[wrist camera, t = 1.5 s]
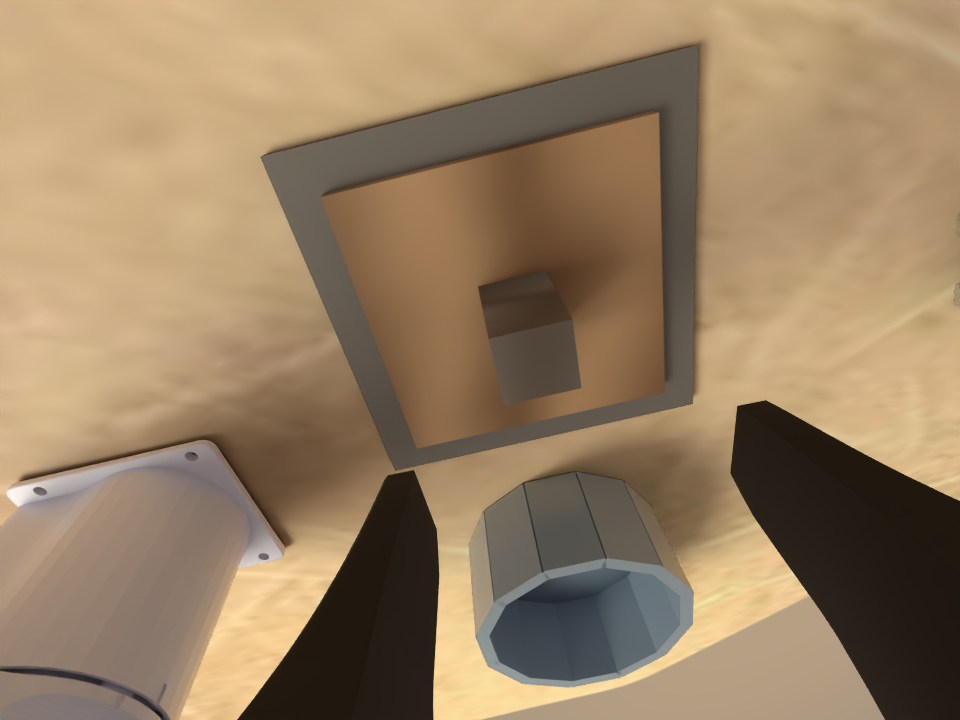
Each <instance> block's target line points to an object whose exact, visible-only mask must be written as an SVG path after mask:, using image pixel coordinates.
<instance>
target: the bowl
mask: <svg viewBox="0 0 960 720" xmlns="http://www.w3.org/2000/svg"><path fill="white" fill-rule="evenodd" d="M469 554H470V567H471V580H472V594H473V607H474V620H475V634H476V639H477V641H478V644H479V646H480V649H481V651H482V654H483V656H484V659H485V661H486V663H487V666H488V667H490V668H492V669H494V670H496V671H498V672H500V673H502V674H504V675H506V676H508V677H510V678H512V679H514V680H516V681H518V682H520V683H522V684H523V683H524V684H530V685H543V686H557V687H576V686H581V685H586V684H591V683H596V682H601V681H606V680H611V679H616V678H621V676H622V677H623V676H625V675H627V674H629V673H631V672H633V671H635V670H637V669H639V668H641V667H643V666H645V665H647V664H649V663H651V662H653V661H655V660H657V659H659V658H661V657H663V656H665V655H666V654H667V653H668V652H669V651H670V650H671V648H672V647H673V646H674V645H675V644H676V643H677V642H678V640H679V639H680V638H681V637H682V636H683V635H684V634H685V633H686V631H687V630H688V629H689V628H690V627H691V626H692V624H693V595H694V592H693V590H692V588H691V586H690V584H689V582H688V580H687V578H686V576H685V574H684V572H683V570H682V568H681V566H680V564H679V562H678V560H677V558H676V556H675V554H674V552H673V550H672V548H671V546H670V544H669V542H668V540H667V538H666V536H665V534H664V532H663V530H662V528H661V526H660V524H659V522H658V520H657V518H656V516H655V514H654V512H653V510H652V508H651V506H650V504H649V503H647V502H646V501H645V500H644V499H643V498H642V497H641V496H640V495H639V494H638V493H637V492H635V491H634V490H633V489H632V488H631V487H630V486H629V485H628V484H627V483H626V482H624V481H623V480H619V479H613V478H608V477H603V476H597V475H592V474H586V473H581V472H576V473H575V472H571V473H567V474H562V475H558V476H553V477H549V478H544V479H540V480H535V481H531V482H526V483H524V484H521V485H520V486H518V487H517V488H516V489H514V490H513V491H511V492H510V493H508V494H507V495H506V496H504V497H503V498H501V499H500V500H498V501H497V502H496V503H494V504H493V505H491V506H490V507H488V508H487V509H486V510H484V511H483V514H482V516H481V518H480V520H479V523H478V525H477V527H476V529H475V532H474V534H473V536H472V538H471V541H470V543H469Z"/></svg>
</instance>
